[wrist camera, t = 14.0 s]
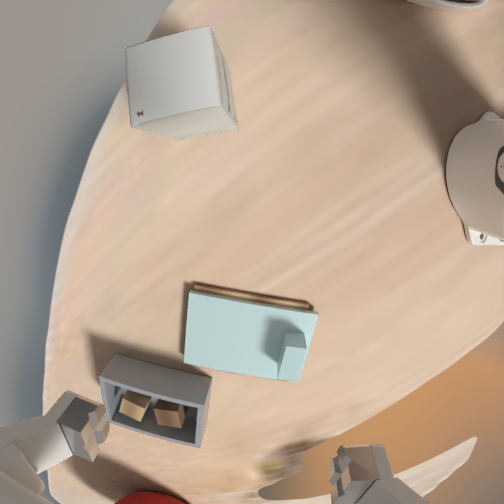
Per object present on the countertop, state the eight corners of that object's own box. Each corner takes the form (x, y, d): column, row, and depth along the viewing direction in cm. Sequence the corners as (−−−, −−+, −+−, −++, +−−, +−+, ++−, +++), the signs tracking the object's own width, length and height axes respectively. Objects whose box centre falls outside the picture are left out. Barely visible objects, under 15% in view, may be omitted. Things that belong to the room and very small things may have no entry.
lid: (317, 311, 36) (322, 329, 32) (297, 378, 39) (299, 399, 35) (190, 290, 36) (181, 305, 32) (185, 359, 39) (177, 378, 35)
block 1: (154, 388, 41) (144, 409, 36) (150, 401, 42) (140, 421, 37) (134, 378, 41) (122, 398, 36) (130, 392, 41) (119, 411, 37)
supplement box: (239, 131, 32) (222, 108, 19) (175, 141, 32) (126, 129, 20) (232, 71, 30) (212, 23, 18) (169, 83, 30) (122, 47, 18)
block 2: (185, 390, 40) (177, 411, 36) (188, 406, 41) (181, 428, 37) (163, 387, 41) (153, 408, 36) (167, 403, 41) (158, 424, 37)
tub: (212, 377, 40) (204, 405, 34) (206, 421, 43) (200, 448, 37) (115, 353, 40) (98, 375, 35) (121, 398, 43) (107, 421, 37)
